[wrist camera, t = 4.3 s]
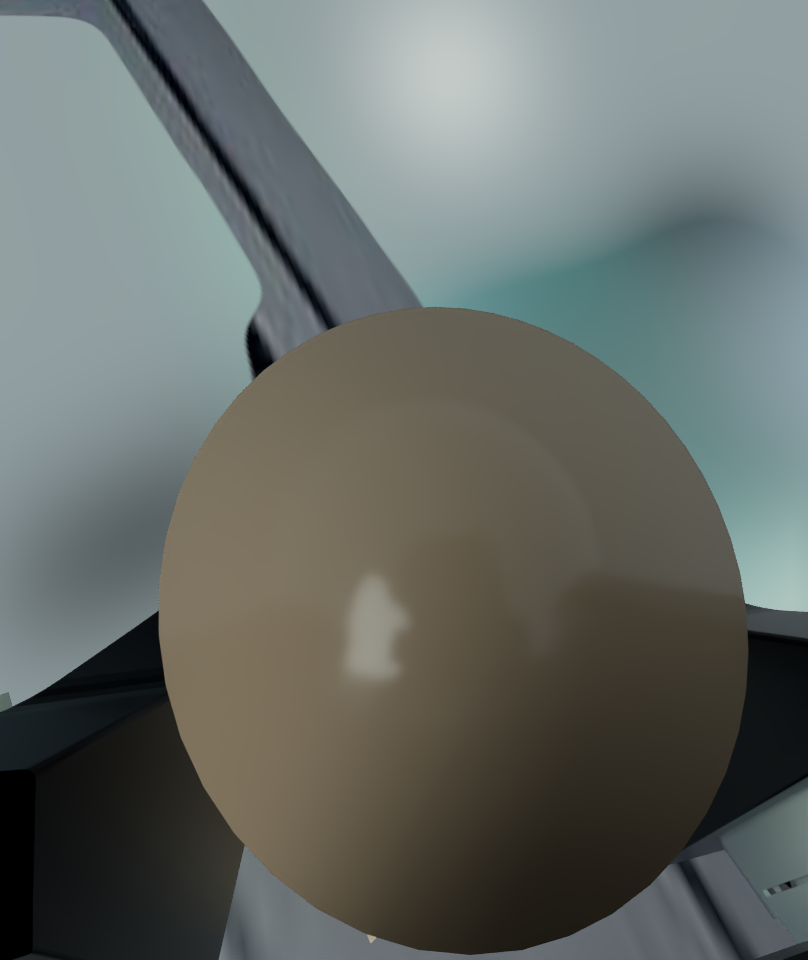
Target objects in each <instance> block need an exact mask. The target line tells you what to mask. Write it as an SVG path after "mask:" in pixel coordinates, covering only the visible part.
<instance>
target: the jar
mask: <svg viewBox="0 0 808 960" xmlns="http://www.w3.org/2000/svg"><path fill="white" fill-rule="evenodd" d="M159 640H160V647H161V654H162V662H163V669H164V676H165V684H166V688H167V691H168V695H169V698H170V702H171V705H172V709H173V712H174V716H175V719H176V723H177V726H178V730H179V733H180V737H181V739H182V741H183V743H184V745H185V748H186V750H187V752H188V754H189V756H190V759H191V761H192V763H193V765H194V767H195V769H196V772H197V774H198V776H199V778H200V780H201V783H202V785H203V787H204V788H205V790H206V791H207V793H208V794H209V796H210V797H211V799H212V800H213V802H214V803H215V805H216V806H217V808H218V810H219V811H220V813H221V814H222V816H223V817H224V819H225V820H226V822H227V823H228V825H229V826H230V828H231V829H232V831H233V832H234V834H235V835H236V836H237V837H238V838H239V839H240V840H241V841H242V842H243V843H244V844H245V845H246V847H247V848H248V849H249V850H250V851H251V852H252V853H253V854H254V855H255V856H256V857H257V858H258V860H259V861H260V862H261V863H262V864H263V865H264V866H265V867H266V868H267V869H268V870H269V871H270V872H271V874H272V875H274V876H275V877H276V878H277V879H279V880H280V881H281V882H283V883H284V884H285V885H287V886H288V887H289V888H291V889H292V890H293V891H294V892H296V893H297V894H298V895H300V896H301V897H302V898H304V899H305V900H306V901H308V902H309V903H310V904H311V905H313V906H314V907H315V908H317V909H318V910H320V911H322V912H324V913H326V914H328V915H330V916H332V917H334V918H336V919H338V920H340V921H342V922H344V923H346V924H348V925H349V926H351V927H353V928H355V929H357V930H359V931H361V932H363V933H365V934H367V935H371V936H374V937H377V938H381V939H384V940H388V941H391V942H394V943H398V944H401V945H404V946H408V947H411V948H414V949H418V950H427V951H437V952H447V953H457V954H467V955H474V954H484V953H495V952H505V951H516V950H523V949H527V948H530V947H533V946H537V945H540V944H543V943H547V942H550V941H554V940H557V939H560V938H564V937H567V936H570V935H572V934H574V933H576V932H578V931H580V930H582V929H584V928H586V927H588V926H589V925H591V924H593V923H595V922H597V921H599V920H601V919H603V918H605V917H607V916H609V915H611V914H613V913H614V912H615V911H617V910H618V909H619V908H621V907H622V906H623V905H624V904H626V903H627V902H628V901H630V900H631V899H632V898H634V897H635V896H636V895H637V894H639V893H640V892H641V891H643V890H644V889H645V888H647V887H648V886H649V885H650V884H651V883H652V882H653V881H654V880H655V879H656V878H657V877H658V876H659V875H660V874H661V873H662V871H663V870H664V869H665V868H666V867H667V866H668V865H669V864H670V863H671V862H672V861H673V860H674V858H675V857H676V856H677V855H678V854H679V853H680V852H681V851H682V850H683V848H684V847H685V845H686V844H687V842H688V841H689V839H690V838H691V836H692V835H693V833H694V832H695V830H696V829H697V827H698V826H699V824H700V823H701V821H702V820H703V818H704V817H705V815H706V814H707V812H708V810H709V808H710V805H711V803H712V801H713V799H714V797H715V795H716V793H717V791H718V789H719V786H720V784H721V782H722V780H723V778H724V776H725V774H726V771H727V768H728V765H729V761H730V758H731V755H732V752H733V749H734V745H735V742H736V739H737V736H738V733H739V728H740V722H741V717H742V711H743V705H744V700H745V694H746V684H747V667H748V633H747V615H746V606H745V600H744V594H743V588H742V582H741V576H740V571H739V568H738V564H737V560H736V557H735V553H734V549H733V546H732V542H731V539H730V536H729V533H728V531H727V528H726V525H725V522H724V520H723V517H722V515H721V512H720V509H719V507H718V505H717V502H716V500H715V498H714V497H713V495H712V492H711V490H710V488H709V486H708V484H707V482H706V480H705V478H704V476H703V474H702V473H701V471H700V469H699V468H698V466H697V465H696V463H695V461H694V460H693V458H692V457H691V455H690V453H689V452H688V450H687V448H686V447H685V445H684V444H683V443H682V441H681V440H680V439H679V437H678V436H677V435H676V433H675V432H674V431H673V429H672V428H671V427H670V426H669V424H668V423H667V422H666V420H665V419H664V418H663V417H662V416H661V415H660V414H659V413H658V412H657V411H656V410H655V408H654V407H653V406H652V405H651V404H650V403H649V402H648V401H647V400H646V398H645V397H644V396H643V395H641V394H640V393H639V392H638V391H637V390H636V389H635V388H634V387H633V386H632V385H630V384H629V383H628V382H627V381H626V380H625V379H624V378H623V377H622V376H620V375H619V374H618V373H616V372H615V371H614V370H612V369H611V368H610V367H608V366H607V365H606V364H604V363H603V362H602V361H600V360H599V359H598V358H596V357H594V356H593V355H591V354H590V353H588V352H586V351H584V350H583V349H581V348H580V347H578V346H577V345H575V344H573V343H571V342H569V341H567V340H565V339H563V338H561V337H559V336H557V335H555V334H553V333H551V332H549V331H547V330H544V329H542V328H539V327H536V326H533V325H531V324H528V323H526V322H523V321H520V320H517V319H513V318H509V317H505V316H501V315H498V314H494V313H489V312H482V311H476V310H470V309H461V308H443V307H427V308H409V309H401V310H395V311H389V312H384V313H378V314H374V315H370V316H367V317H363V318H360V319H357V320H353V321H350V322H347V323H344V324H342V325H340V326H337V327H335V328H332V329H330V330H328V331H325V332H323V333H321V334H318V335H317V336H315V337H313V338H311V339H310V340H308V341H306V342H304V343H303V344H301V345H299V346H297V347H296V348H294V349H292V350H290V351H289V352H288V353H286V354H285V355H284V356H282V357H281V358H280V359H279V360H277V361H276V362H275V363H273V364H272V365H271V366H269V367H268V368H267V369H265V370H264V371H263V372H262V373H261V374H260V375H259V376H258V377H257V378H256V379H254V380H253V381H252V382H251V383H250V384H249V385H248V386H247V387H246V388H245V389H244V390H243V391H242V392H241V393H240V394H239V395H238V396H237V397H236V399H235V400H234V401H233V402H232V404H231V405H230V406H229V407H228V409H227V410H226V411H225V412H224V414H223V415H222V416H221V418H220V419H219V420H218V421H217V423H216V424H215V425H214V427H213V428H212V430H211V432H210V433H209V435H208V437H207V438H206V440H205V442H204V443H203V445H202V447H201V448H200V450H199V452H198V453H197V455H196V457H195V458H194V461H193V463H192V465H191V467H190V470H189V472H188V474H187V477H186V479H185V481H184V484H183V486H182V488H181V491H180V493H179V495H178V498H177V501H176V505H175V508H174V512H173V515H172V519H171V522H170V526H169V529H168V533H167V536H166V540H165V547H164V555H163V561H162V568H161V576H160V582H159Z"/></svg>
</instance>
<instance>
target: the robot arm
mask: <svg viewBox="0 0 808 960" xmlns="http://www.w3.org/2000/svg"><path fill="white" fill-rule="evenodd" d="M745 606H746V615H747V633H748V667H747V684H746V694H745V700H744V705H743V711H742V717H741V722H740V728H739V733H738V736H737V739H736V742H735V745H734V749H733V752H732V755H731V758H730V761H729V765H728V768H727V771H726V774H725V776H724V778H723V780H722V782H721V784H720V786H719V789H718V791H717V793H716V795H715V797H714V799H713V801H712V803H711V805H710V808H709V810H708V812H707V814H706V815H705V817H704V818H703V820H702V821H701V823H700V824H699V826H698V827H697V829H696V830H695V832H694V833H693V835H692V836H691V838H690V839H689V841H688V842H687V844H686V845H685V847H684V848H683V850H682V851H681V852H680V853H679V854H678V855H677V856H676V857H675V858H674V860H673V861H672V862H671V863H670V864H674V863H677V862H681V861H685V860H688V859H692V858H695V857H699V856H703V855H706V854H710V853H713V852H717V851H721V850H725V851H726V852H727V854H728V855H729V857H730V858H731V860H732V861H733V862H734V864H735V865H736V867H737V868H738V869H739V871H740V872H741V874H742V875H743V877H744V878H745V879H746V881H747V882H748V884H749V885H750V887H751V888H752V889H753V891H754V892H755V894H756V895H757V897H758V898H759V899H760V901H761V902H762V904H763V905H764V907H765V908H766V909H767V911H768V912H769V914H770V915H771V917H772V918H773V919H776V918H779V920H780V921H781V923H782V924H783V925H784V927H785V928H786V930H787V931H788V932H789V934H790V935H791V937H792V938H793V939H794V941H795V942H796V944H797V945H794V946H791V947H788V948H785V949H782V950H780V951H777V952H774V953H771V954H768V955H765V956H763V957H760V958H757V959H754V960H808V612H797V611H781V610H773V609H767V608H762V607H756V606H753V605H749V604H746V603H745ZM244 845H245V844H244V843H243V842H242V841H241V840H240V839H239V838H238V837H237V836H236V835H235V834H234V832H233V831H232V829H231V828H230V826H229V825H228V823H227V822H226V820H225V819H224V817H223V816H222V814H221V813H220V811H219V810H218V808H217V806H216V805H215V803H214V802H213V800H212V799H211V797H210V796H209V794H208V793H207V791H206V790H205V788H204V787H203V785H202V783H201V780H200V778H199V776H198V774H197V772H196V769H195V767H194V765H193V763H192V761H191V759H190V756H189V754H188V752H187V750H186V748H185V745H184V743H183V741H182V739H181V737H180V733H179V730H178V726H177V723H176V719H175V716H174V712H173V709H172V705H171V702H170V698H169V695H168V691H167V688H166V684H165V676H164V669H163V662H162V654H161V647H160V640H159V611H157V612H156V613H155V614H153V615H152V616H150V617H149V618H148V619H146V620H145V621H143V622H142V623H141V624H139V625H138V626H136V627H135V628H134V629H132V630H131V631H129V632H128V633H126V634H125V635H123V636H122V637H121V638H119V639H118V640H116V641H115V642H113V643H112V644H111V645H109V646H108V647H107V648H105V649H103V650H102V651H100V652H99V653H97V654H96V655H95V656H93V657H92V658H90V659H89V660H87V661H86V662H85V663H83V664H82V665H80V666H79V667H77V668H76V669H74V670H73V671H72V672H70V673H69V674H67V675H66V676H64V677H63V678H61V679H60V680H58V681H57V682H55V683H54V684H52V685H51V686H50V687H48V688H46V689H45V690H43V691H41V692H39V693H38V694H36V695H34V696H33V697H31V698H29V699H27V700H25V701H23V702H21V703H19V704H17V705H15V706H13V707H11V708H8V709H6V710H4V711H1V712H0V960H218V959H219V955H220V951H221V946H222V942H223V937H224V933H225V929H226V924H227V920H228V915H229V911H230V907H231V902H232V898H233V893H234V889H235V885H236V880H237V876H238V871H239V867H240V862H241V858H242V854H243V849H244ZM670 864H669V865H670Z"/></svg>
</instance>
